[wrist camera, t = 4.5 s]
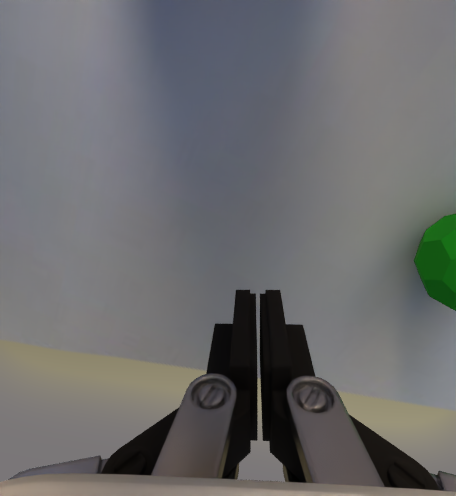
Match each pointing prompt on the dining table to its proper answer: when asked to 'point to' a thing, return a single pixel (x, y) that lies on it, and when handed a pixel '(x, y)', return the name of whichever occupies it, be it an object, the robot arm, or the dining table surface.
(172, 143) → the dining table surface
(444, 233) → the polyhedron
